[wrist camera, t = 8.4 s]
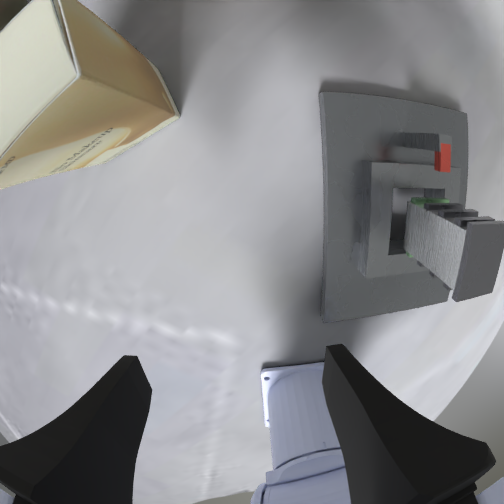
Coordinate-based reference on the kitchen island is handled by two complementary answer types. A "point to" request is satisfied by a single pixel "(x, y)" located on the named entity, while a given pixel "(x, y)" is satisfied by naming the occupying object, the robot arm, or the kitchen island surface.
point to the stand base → (382, 198)
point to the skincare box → (72, 92)
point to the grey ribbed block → (454, 245)
